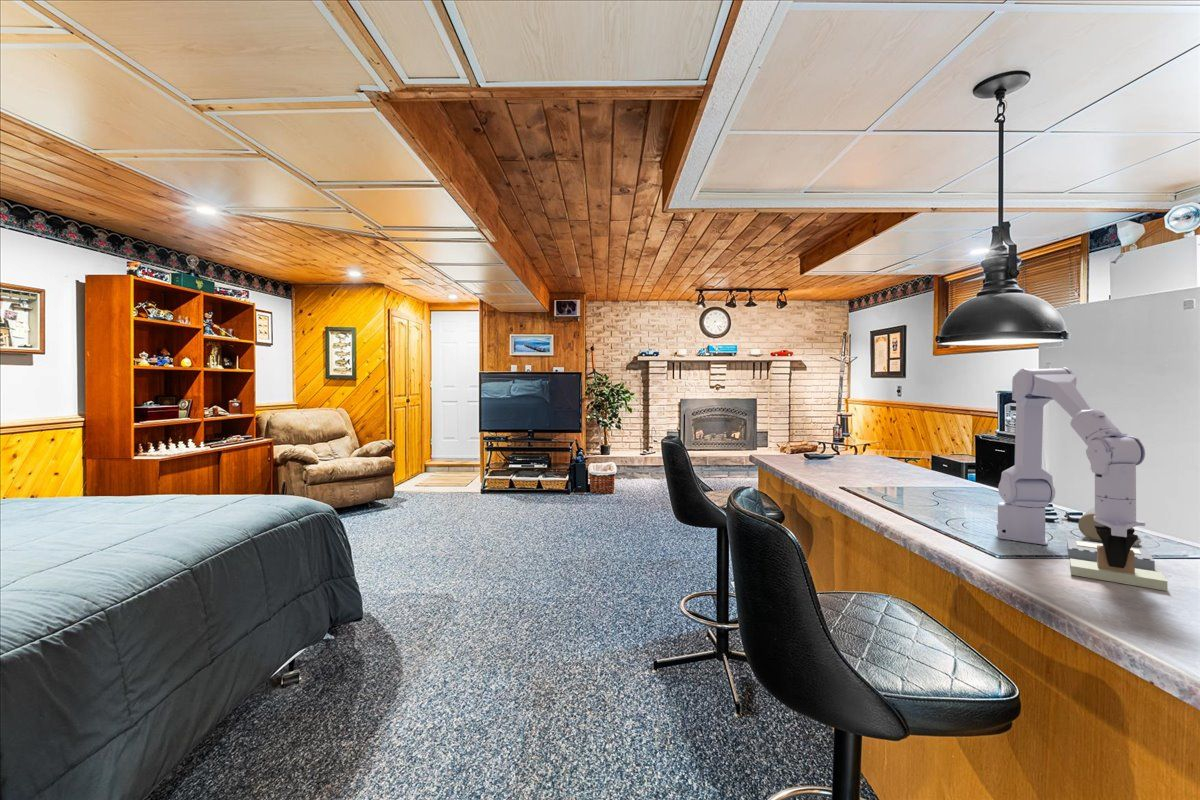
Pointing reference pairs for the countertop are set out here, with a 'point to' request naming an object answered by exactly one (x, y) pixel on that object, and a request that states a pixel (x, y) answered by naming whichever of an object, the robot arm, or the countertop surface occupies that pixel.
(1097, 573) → the stub
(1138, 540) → the ceramic mug
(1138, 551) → the board
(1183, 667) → the countertop surface
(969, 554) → the countertop surface
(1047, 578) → the countertop surface
